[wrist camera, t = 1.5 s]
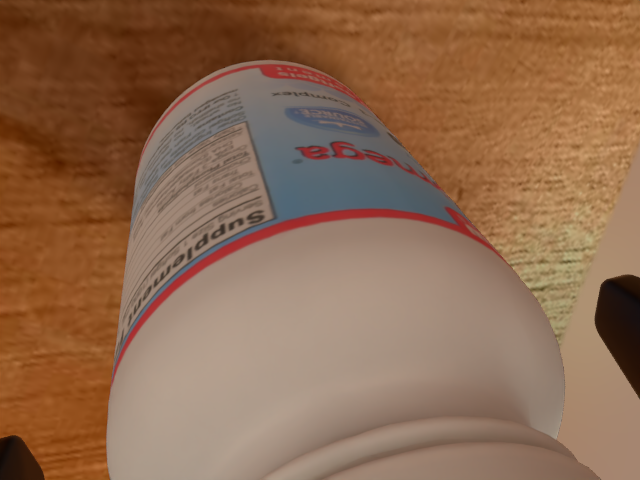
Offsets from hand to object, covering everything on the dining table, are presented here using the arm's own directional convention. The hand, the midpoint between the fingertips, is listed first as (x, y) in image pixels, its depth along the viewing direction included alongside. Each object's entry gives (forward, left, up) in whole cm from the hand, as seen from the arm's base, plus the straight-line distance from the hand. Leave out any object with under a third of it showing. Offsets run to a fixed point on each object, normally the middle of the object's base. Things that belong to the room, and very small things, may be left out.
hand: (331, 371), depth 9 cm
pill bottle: (0, 0, -7) cm, 7 cm away
